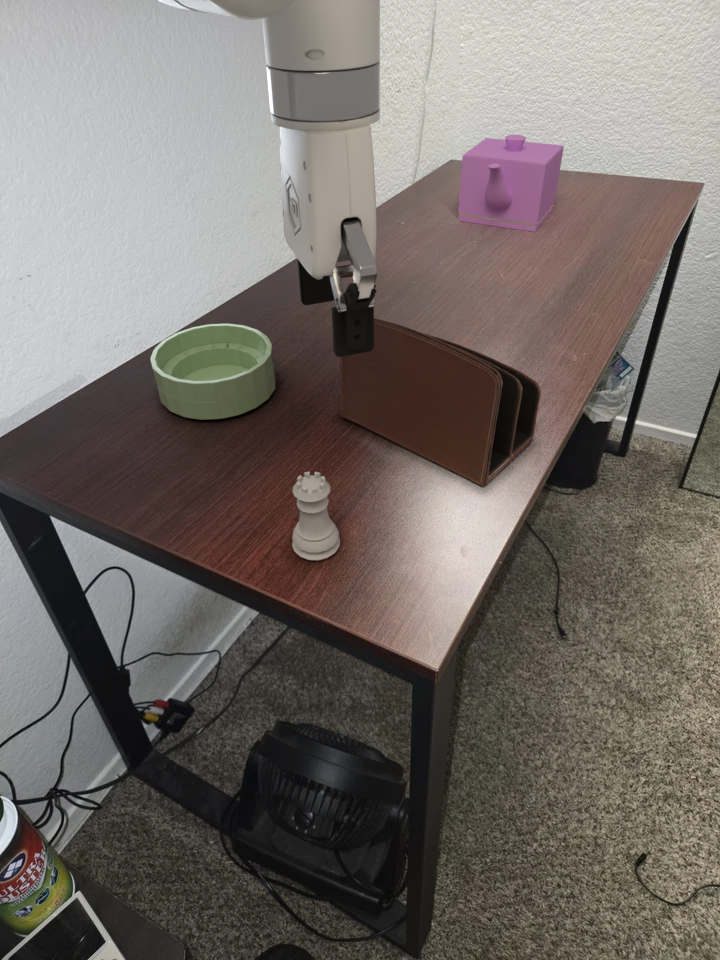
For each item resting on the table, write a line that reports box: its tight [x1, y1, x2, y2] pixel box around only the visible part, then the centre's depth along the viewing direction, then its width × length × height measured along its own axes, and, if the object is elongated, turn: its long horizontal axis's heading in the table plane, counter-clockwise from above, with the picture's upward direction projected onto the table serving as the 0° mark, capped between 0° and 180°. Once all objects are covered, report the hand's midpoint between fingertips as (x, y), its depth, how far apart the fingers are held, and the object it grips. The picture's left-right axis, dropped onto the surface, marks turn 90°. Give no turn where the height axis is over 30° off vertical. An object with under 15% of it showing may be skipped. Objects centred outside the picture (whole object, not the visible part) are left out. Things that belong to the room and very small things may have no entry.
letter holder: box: [339, 317, 542, 488], centre depth 70 cm, size 10×20×14 cm, turn 49°
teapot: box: [457, 134, 565, 233], centre depth 122 cm, size 15×25×14 cm, turn 153°
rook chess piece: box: [291, 471, 341, 562], centre depth 58 cm, size 4×4×8 cm
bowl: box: [149, 323, 277, 421], centre depth 80 cm, size 14×14×6 cm
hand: (335, 325), depth 56 cm, fingers open, 9 cm apart
